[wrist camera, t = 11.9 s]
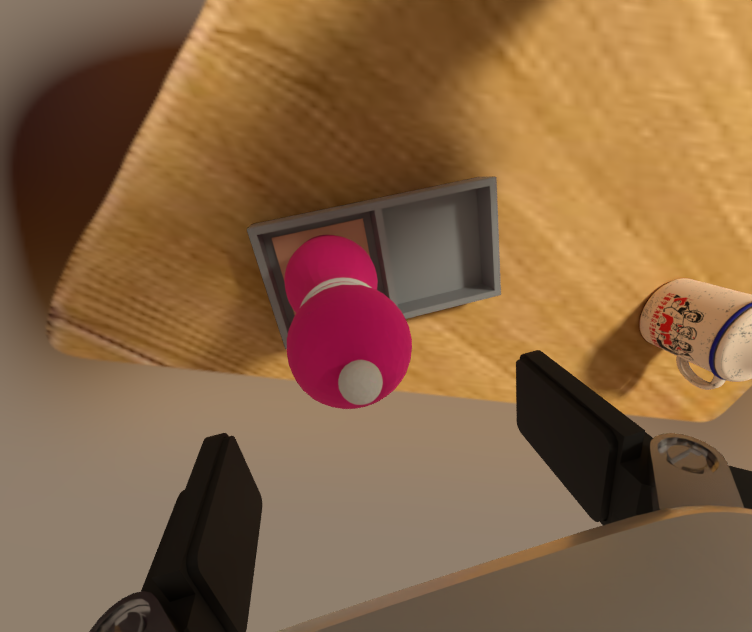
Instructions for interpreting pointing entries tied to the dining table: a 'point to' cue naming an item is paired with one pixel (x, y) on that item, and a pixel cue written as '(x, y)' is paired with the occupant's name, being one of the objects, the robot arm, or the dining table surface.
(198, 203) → the dining table surface
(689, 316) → the teacup with lid
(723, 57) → the dining table surface
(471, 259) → the tray
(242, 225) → the dining table surface
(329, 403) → the pepper mill
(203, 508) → the robot arm
